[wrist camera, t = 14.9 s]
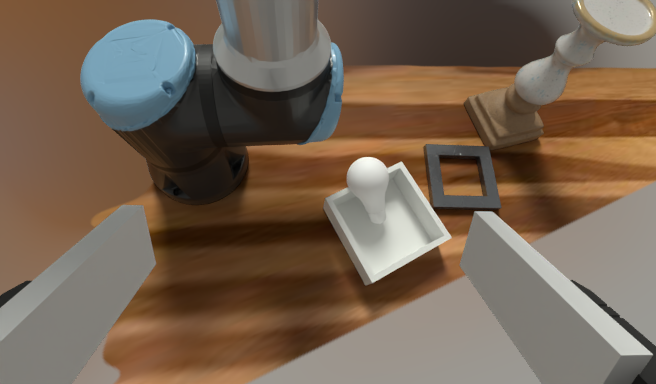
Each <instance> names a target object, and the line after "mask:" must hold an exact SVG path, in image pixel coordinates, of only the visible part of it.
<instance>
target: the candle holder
mask: <svg viewBox="0 0 656 384" xmlns="http://www.w3.org/2000/svg"><path fill="white" fill-rule="evenodd" d="M572 8H573V12H574V14H575V16H576V18H577V20H578V21H579V22H580V25H579V27H578V28H577V29H576V30H575V31H574V32H572V33H570V34H566V35H563V36H561V37H560V38H559V39H558V40H557V42H556V46H555V50H554V53H553V55H551V56H549V57H547V58H544V59H540V60H536V61H533V62H531V63H528V64H527V65H525V66H524V67H522V68H521V69H520V70H519V71H518V73H517V74H516V77H515V81H514V84H512V85H511V86H509V87H508V88H502V89H497V90H493V91H489V92H485V93H482V94H477V95H474V96H470V97H468V98H467V100H466V101H465V102H464V106H465V108H466V110H467V112H468V114H469V116H470V118H471V120H472V122H473V124H474V126H475V128H476V130H477V132H478V134H479V136H480V138H481V140H482V142H483V144H484V145H485V146H489V150H496V149H500V148H504V147H508V146H512V145H516V144H520V143H524V142H528V141H532V140H535V139H537V138H538V137H540V136H541V135H542V134H544V133H543V131H542V128H543V123H542V120H541V118H540V117H539V115H538V113H537V110H538V109H539V108H540V107H541V105H546V104H549V103H552V102H554V101H555V100H556V99H558V98H559V97H560V96H561V94H562V93H563V91H564V89H565V87H566V83H567V78H568V74H569V72H570V70H571V69H572V68H573V67H577V66H580V65H585V64H587V63H589V62H590V61H591V60H592V59H593V57H594V52H595V49H596V48H597V46H599V45H600V44H602V43H603V42H609V43H612V44H616V45H622V46H633V45H639V44H642V43H644V42H646V41H648V40H650V39H651V38H652V37H653V36H654V35H655V34H656V8H655V7H654V5H653V4H652V3H651V1H650V0H572Z"/></svg>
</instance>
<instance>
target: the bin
mask: <svg viewBox="0 0 656 384" xmlns="http://www.w3.org/2000/svg"><path fill="white" fill-rule="evenodd" d="M387 170H388V174H389V182H388V186H387V189H386V192H385V204H386V206H385V211H386V220H385V221H384V222H382V223H381V224H376V223H373V222H371V220H370V217H369V215H368V212H367V211H366V210H365V207H364V205H363V203H362V202H361V200H360V199H359V198H358V197H357V196H356V195H355V194H354V193H353V192H352V191H351V190H350V188H349V187H348V188H345V189H343V190H341V191H339V192H337V193H335V194H333V195H331V196H329V197H327V198H325V202H324V207H323V209H324V211H325V213H326V214H327V216H328V218H329V220H330V222H331V224H332V225H333V227H334V229H335V231H336V233H337V235H338V236H339V238H340V240H341V242H342V244H343V246H344V247H345V249H346V251H347V253H348V255H349V257H350V258H351V260H352V262H353V264H354V266H355V268H356V269H357V271H358V273H359V275H360V277H361V279H362V280H363V282H364V284H365V286H366V285H369V284H372V283H374V282H375V281H377V280H379V279H381V278H382V277H384V276H386V275H388V274H389V273H391V272H393V271H395V270H396V269H398V268H400V267H402V266H403V265H405V264H407V263H409V262H410V261H412V260H414V259H415V258H417V257H419V256H421V255H422V254H424V253H426V252H428V251H429V250H431V249H433V248H435V247H436V246H438V245H440V244H442V243H443V242H445V241H447V240H449V239H450V238H452V237H451V236H450V234H449V233H448V231H447V230H446V228H445V227H444V225H443V224H442V222H441V221H440V219H439V218H438V216H437V215H436V213H435V211H434V210H433V208H432V207H431V205H430V204H429V202H428V201H427V199H426V198H425V196H424V195H423V193H422V192H421V190H420V189H419V187H418V186H417V184H416V183H415V181H414V180H413V178H412V177H411V175H410V173H409V172H408V170H407V169H406V167H405V166H404V164H403V163H402V162H400V163H397V164H395V165H393V166H391V167H389V168H387Z"/></svg>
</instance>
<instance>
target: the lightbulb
mask: <svg viewBox="0 0 656 384" xmlns="http://www.w3.org/2000/svg"><path fill="white" fill-rule="evenodd" d="M388 182H389V174H388V170H387V168H386V166H385V165H384V164H383V163H382V162H381V161H379V160H378V159H376V158H372V157H363V158H360V159H358V160H356V161H355V162H354V163H353V164H352V165H351V166H350V168H349V170H348V173H347V184H348V187H349V188H350V190H351V191H352V192H353V193H354V194H355V195H356V196H357V197H358V198H359V199H360V200H361V202H362V203H363V205H364V207H365V210H366V211H367V212H368V215H369V217H370V220H371V222H373V223H376V224H381V223H382V222H384V221H385V220H386V211H385V206H386V204H385V192H386V189H387V186H388Z"/></svg>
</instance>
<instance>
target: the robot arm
mask: <svg viewBox="0 0 656 384" xmlns="http://www.w3.org/2000/svg"><path fill="white" fill-rule="evenodd" d="M216 2H217V6H218V9H219V13H220V17H221V21H222V24H221V25H220V27H219V28H218V30H217V32H216V34H215V37H214V41H213V44H209V45H193V43H192V42H191V39H189V37H188V36H187V35H186V34H185V33H184V32H183V31H182V30H180V29H179V28H175V27H174V25H172V24H170V23H168V22H165V21H159V20H140V21H134V22H130V23H127V24H125V25H122V26H120V27H118V28H116V29H114V30H113V31H111V32H109V33H107V34H106V36H105V37H104V38H103V39H101V40H100V41H98V42H97V43H96V44H95V45H94V46H93V47H92V49H91V50H90V51H89V53H88V54H87V56H86V58H85V61H84V63H83V66H82V70H81V87H82V90H83V94H84V96H85V98H86V99H87V101H88V102H89V104H90V105H91V106H92V107H93V108H94V109H95V110H96V112H97V113H98V114H99V115H100V117H101V119H102V120H103V122H105V123H106V124H107V125H108V126H109V127H111V128H112V129H113V130H114V131H115V132H116V133H117V134H119V136H121V137H122V138H123V139H124V140H125V141H126V142H127V143H128V144H130V145H131V146H132V147H133V148H134V149H135V150H136V151H137V152H138V153H140V154H141V155H142V156H143V157H144V158H145V159H146V162H147V166H148V169H149V173H150V175H151V178H152V180H153V181H154V183H155V184H156V185H157V187H158V188H159V189H160V190H162V191H163V192H164V193H165V194H166V195H167V196H169V197H170V198H172V199H174V200H176V201H178V202H181V203H185V204H191V205H202V204H208V203H212V202H215V201H218V200H220V199H222V198H224V197H225V196H227V195H229V194H230V193H231V192H232V191H233V190H235V189H236V188H237V186H238V185H239V184H240V183H241V181H242V180H243V178H244V176H245V173H246V171H247V167H248V152H247V148H246V146H259V145H285V144H298V145H303V144H307V143H309V142H318V141H323V140H326V139H327V138H329V137H330V136H331V135H332V133H333V132H334V130H335V128H336V126H337V123H338V120H339V116H340V111H341V106H342V100H341V95H342V93H343V82H344V75H343V62H342V57H341V52H340V50H339V48H338V47H337V45H336V44H334V43H331V41H330V37H329V35H328V32H327V30H326V29H325V27H324V26H323V25H322V23H321V22H320V21H319V20H318V19H317V16H318V0H216ZM155 265H156V261H155V257H154V252H153V248H152V243H151V239H150V234H149V230H148V225H147V221H146V216H145V212H144V207H143V205H122V206H120V207H119V208H118V209H117V210H116V211H115V212H113V213H112V214H111V215H110V216H109V217H107V218H106V219H105V220H104V221H103V222H102V223H100V224H99V225H98V226H97V227H96V228H94V229H93V230H92V231H91V232H90V233H89V234H87V235H86V236H85V237H84V238H83V239H81V240H80V241H79V242H78V243H77V244H75V245H74V246H73V247H72V248H71V249H70V250H69V251H67V252H66V253H65V254H64V255H63V256H61V257H60V258H59V259H58V260H57V261H55V262H54V263H53V264H52V265H51V266H50V267H48V268H47V269H46V270H45V271H44V272H42V273H41V274H40V275H39V276H38V277H36V278H35V279H34V280H33V281H25V282H24V283H22V284H20V285H18V286H16V287H15V288H12V289H11V290H9V291H7V292H5V293H4V294H2V295H1V296H0V384H72V383H73V382H74V380H75V379H76V377H77V376H78V374H79V373H80V372H81V370H82V369H83V367H84V366H85V365H86V363H87V362H88V360H89V359H90V357H91V356H92V355H93V353H94V352H95V350H96V349H97V347H98V346H99V345H100V343H101V342H102V340H103V339H104V338H105V336H106V335H107V333H108V332H109V330H110V329H111V328H112V326H113V325H114V323H115V322H116V320H117V319H118V318H119V316H120V315H121V313H122V312H123V311H124V309H125V308H126V306H127V305H128V303H129V302H130V301H131V299H132V298H133V296H134V295H135V293H136V292H137V291H138V289H139V288H140V286H141V285H142V284H143V282H144V281H145V279H146V278H147V276H148V275H149V274H150V272H151V271H152V269H153V268H154V266H155ZM460 267H461V268H462V270H463V271H464V273H465V274H466V276H467V277H468V278H469V280H470V281H471V283H472V284H473V286H474V287H475V288H476V290H477V291H478V293H479V294H480V295H481V297H482V299H483V300H484V301H485V303H486V304H487V306H488V307H489V309H490V310H491V311H492V313H493V314H494V316H495V317H496V319H497V320H498V322H499V323H500V324H501V326H502V327H503V329H504V330H505V332H506V333H507V335H508V336H509V337H510V339H511V340H512V342H513V343H514V345H515V346H516V347H517V349H518V350H519V352H520V353H521V355H522V356H523V357H524V359H525V360H526V362H527V363H528V365H529V366H530V368H531V369H532V370H533V372H534V373H535V375H536V376H537V378H538V379H539V380H540V382H541V383H542V384H656V346H655V345H654V344H652V343H651V342H650V341H649V340H648V339H647V338H645V337H644V336H643V335H642V334H641V333H640V332H638V331H637V330H636V329H635V328H634V327H633V326H631V325H630V324H629V323H628V322H627V321H625V319H623V318H620V315H618V313H616V312H615V311H614V310H613V309H612V308H610V307H607V304H606V303H605V302H603V301H602V300H601V299H600V298H599V297H598V296H597V295H595V294H594V293H593V292H592V291H590V290H589V289H587V288H585V287H584V286H582V285H580V284H578V283H577V282H575V281H573V280H569V279H568V278H566V277H565V276H564V275H563V274H562V273H561V272H560V271H559V270H558V269H556V268H555V267H554V266H553V265H552V264H550V262H548V261H547V260H546V259H545V258H544V257H543V256H542V255H541V254H540V253H538V252H537V251H536V250H535V249H534V248H533V247H532V246H531V245H529V244H528V243H527V242H526V241H525V240H524V239H523V238H522V237H520V236H519V235H518V234H517V233H516V232H515V231H514V230H513V229H511V228H510V227H509V226H508V225H507V224H506V223H505V222H504V221H502V220H501V219H500V218H499V217H498V216H497V215H496V214H495V213H493V212H485V211H475V212H474V215H473V219H472V223H471V226H470V230H469V233H468V237H467V241H466V244H465V248H464V251H463V255H462V258H461V262H460Z"/></svg>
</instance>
